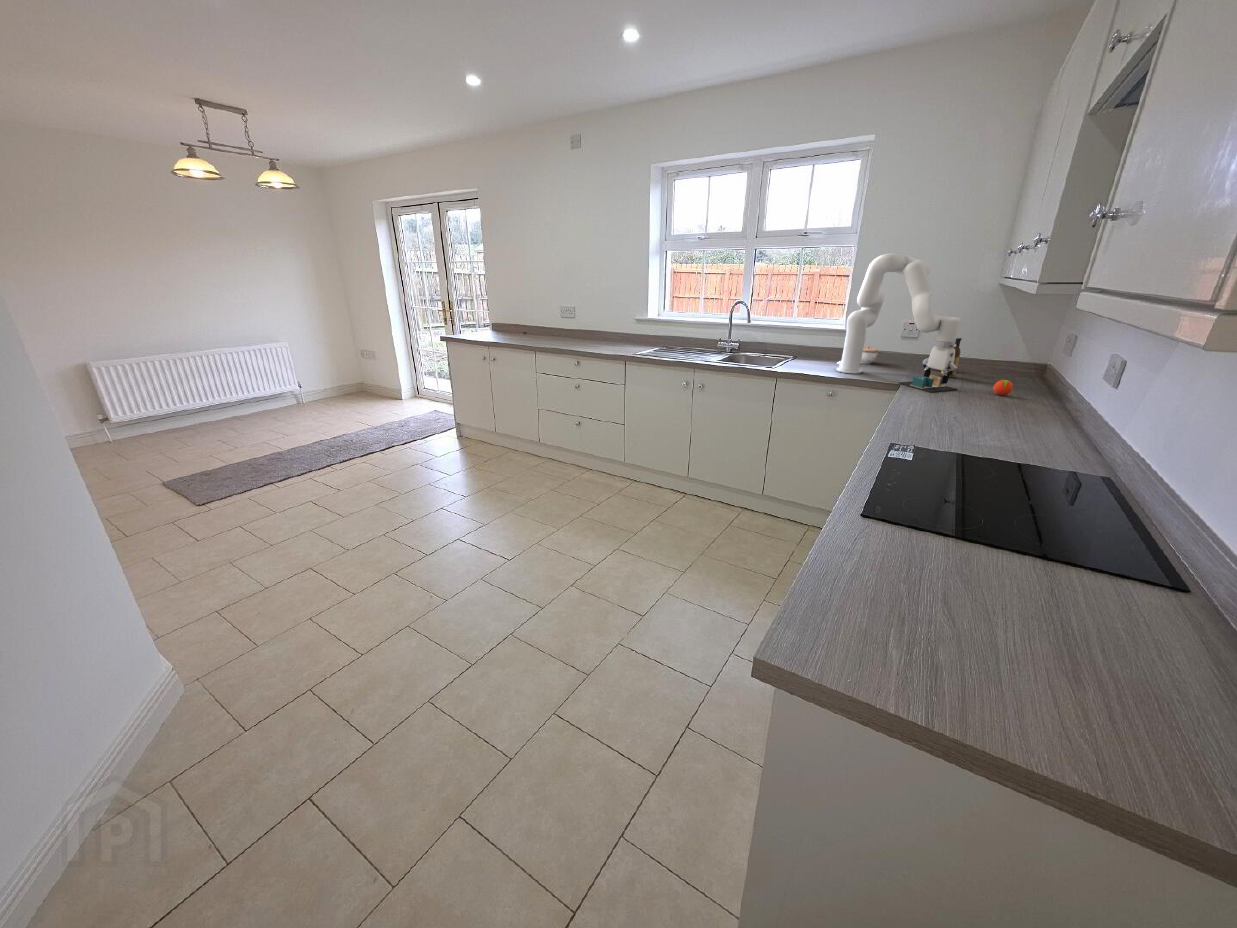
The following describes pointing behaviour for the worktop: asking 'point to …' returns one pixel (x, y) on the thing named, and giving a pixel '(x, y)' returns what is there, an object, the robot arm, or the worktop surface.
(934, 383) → the letter I
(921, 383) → the letter H
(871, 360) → the trinket box
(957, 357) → the sauce bottle
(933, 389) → the word mat
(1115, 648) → the worktop surface
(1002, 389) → the tomato
